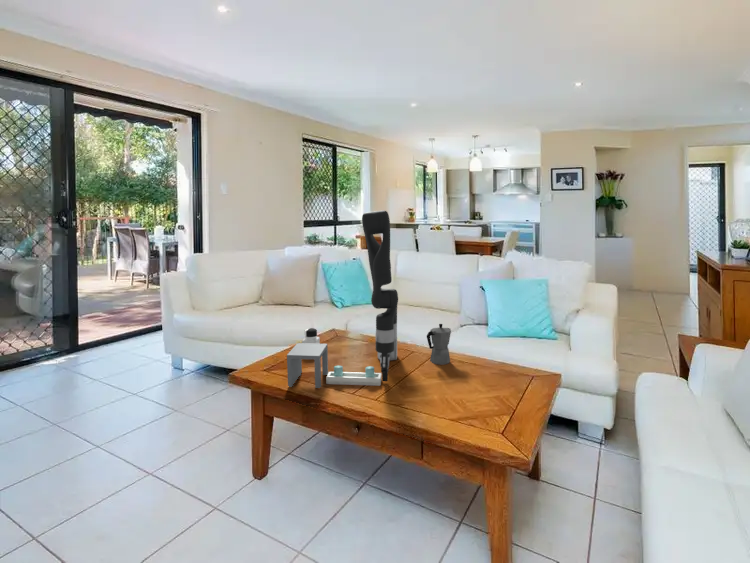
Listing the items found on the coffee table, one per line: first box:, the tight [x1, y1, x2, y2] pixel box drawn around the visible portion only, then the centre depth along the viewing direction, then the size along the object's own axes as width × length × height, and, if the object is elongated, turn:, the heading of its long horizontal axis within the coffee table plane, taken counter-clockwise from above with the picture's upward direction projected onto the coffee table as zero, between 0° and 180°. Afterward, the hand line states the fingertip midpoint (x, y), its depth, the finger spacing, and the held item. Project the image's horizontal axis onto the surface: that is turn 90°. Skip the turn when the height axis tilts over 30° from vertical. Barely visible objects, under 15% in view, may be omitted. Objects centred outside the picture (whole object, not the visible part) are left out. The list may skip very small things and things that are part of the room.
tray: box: [325, 365, 382, 386], centre depth 184 cm, size 22×6×6 cm, turn 85°
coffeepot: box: [426, 323, 452, 366], centre depth 206 cm, size 15×9×18 cm, turn 129°
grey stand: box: [286, 342, 329, 389], centre depth 185 cm, size 13×16×14 cm
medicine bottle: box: [301, 327, 321, 344], centre depth 221 cm, size 7×7×12 cm
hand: (384, 380), depth 183 cm, fingers closed
